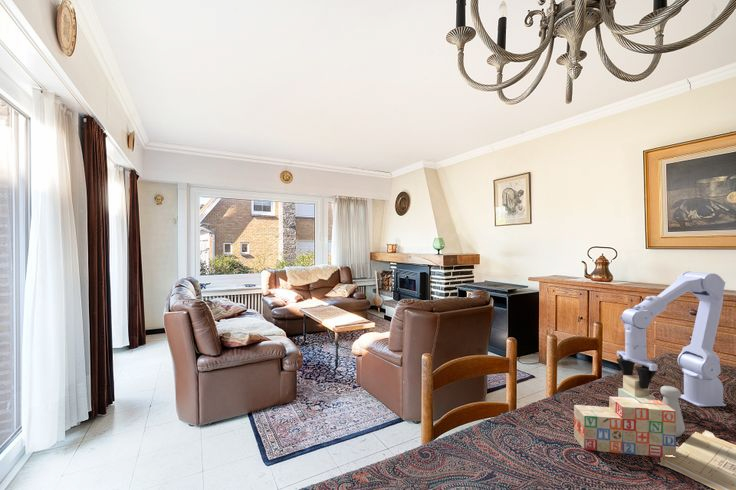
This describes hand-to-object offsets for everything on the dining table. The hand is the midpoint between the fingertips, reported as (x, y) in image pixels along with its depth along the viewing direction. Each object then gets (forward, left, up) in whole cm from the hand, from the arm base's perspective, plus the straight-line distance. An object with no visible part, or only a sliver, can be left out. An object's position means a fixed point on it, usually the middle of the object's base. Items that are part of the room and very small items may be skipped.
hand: (636, 384), depth 114 cm
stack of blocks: (+25, +25, -6) cm, 36 cm away
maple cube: (0, 0, -3) cm, 3 cm away
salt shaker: (+6, +19, -6) cm, 21 cm away
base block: (0, 0, -6) cm, 6 cm away
